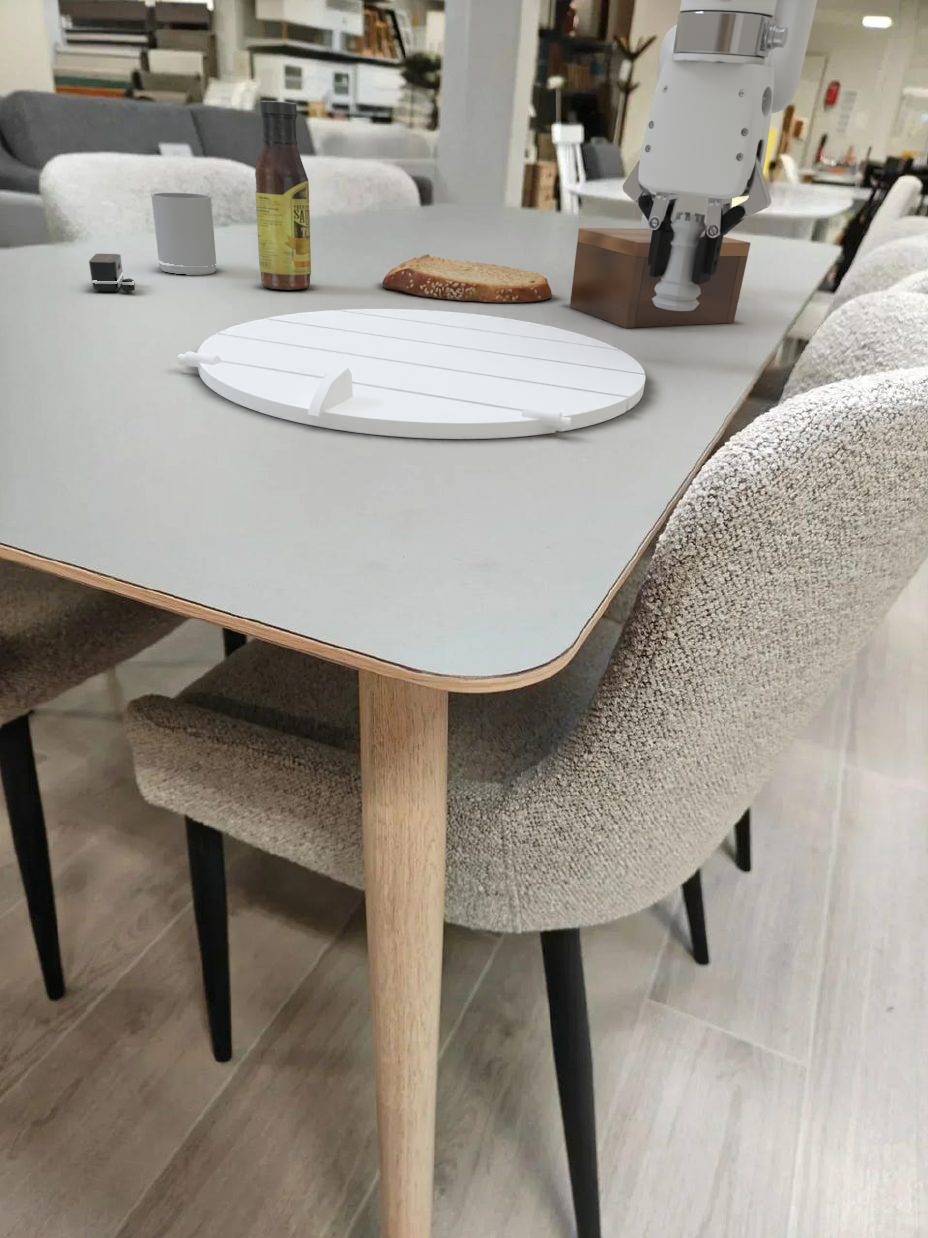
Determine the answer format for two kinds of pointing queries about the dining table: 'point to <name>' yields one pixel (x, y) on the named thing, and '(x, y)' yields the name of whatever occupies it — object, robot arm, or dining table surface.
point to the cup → (184, 232)
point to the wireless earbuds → (108, 273)
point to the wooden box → (647, 281)
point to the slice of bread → (466, 281)
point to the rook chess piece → (681, 265)
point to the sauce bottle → (282, 202)
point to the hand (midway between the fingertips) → (679, 276)
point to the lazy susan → (419, 373)
